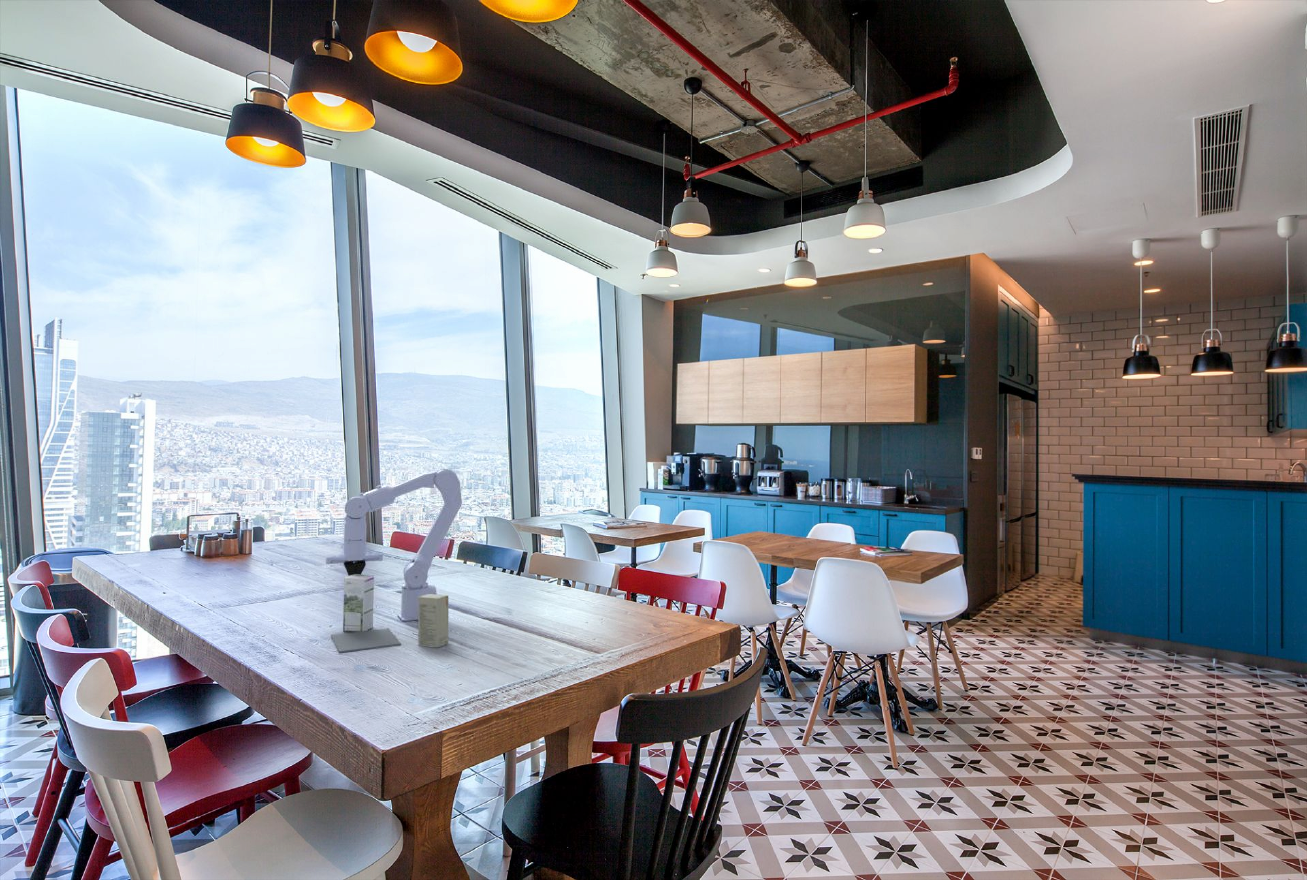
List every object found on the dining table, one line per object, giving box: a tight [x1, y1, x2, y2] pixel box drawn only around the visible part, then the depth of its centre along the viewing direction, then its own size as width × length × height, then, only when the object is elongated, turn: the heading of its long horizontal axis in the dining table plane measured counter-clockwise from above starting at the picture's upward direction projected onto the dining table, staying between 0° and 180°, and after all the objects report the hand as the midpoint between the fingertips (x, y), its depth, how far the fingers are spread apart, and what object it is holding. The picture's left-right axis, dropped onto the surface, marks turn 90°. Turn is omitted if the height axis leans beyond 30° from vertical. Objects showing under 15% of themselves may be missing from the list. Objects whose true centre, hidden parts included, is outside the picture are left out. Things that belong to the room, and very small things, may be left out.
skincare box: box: [417, 593, 449, 648], centre depth 165 cm, size 6×4×12 cm
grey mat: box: [330, 627, 402, 654], centre depth 167 cm, size 14×16×1 cm
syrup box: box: [342, 574, 375, 633], centre depth 178 cm, size 6×6×14 cm
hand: (353, 588), depth 186 cm, fingers closed
